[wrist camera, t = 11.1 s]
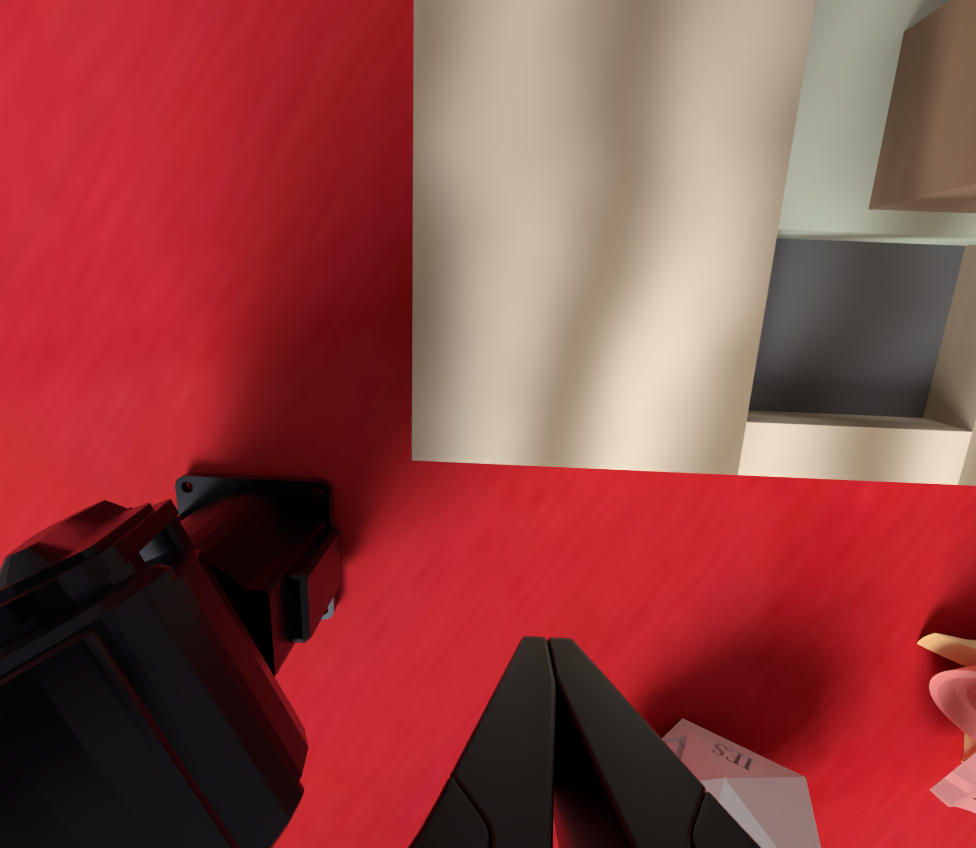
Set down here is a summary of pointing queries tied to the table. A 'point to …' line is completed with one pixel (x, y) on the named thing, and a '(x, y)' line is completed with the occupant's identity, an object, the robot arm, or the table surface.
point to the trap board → (680, 245)
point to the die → (749, 787)
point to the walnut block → (932, 118)
